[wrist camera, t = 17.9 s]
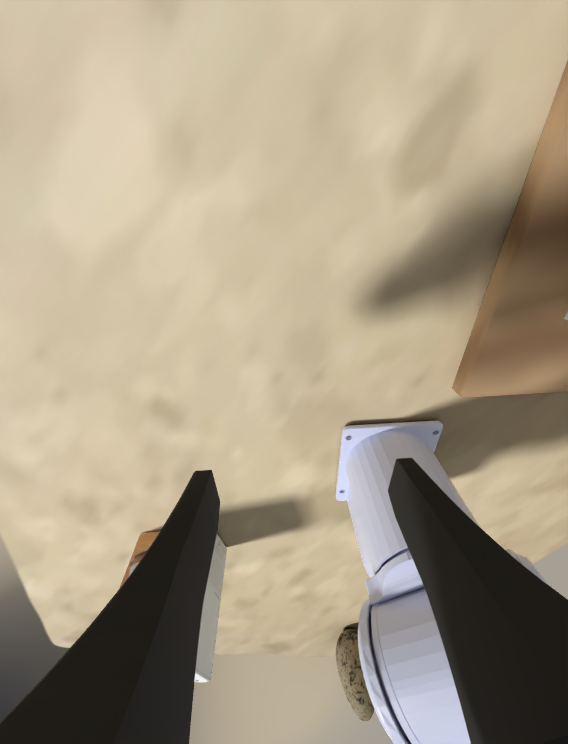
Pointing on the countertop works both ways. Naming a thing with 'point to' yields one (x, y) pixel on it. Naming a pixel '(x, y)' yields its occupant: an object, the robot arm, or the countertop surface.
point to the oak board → (528, 283)
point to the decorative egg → (353, 674)
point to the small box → (209, 605)
